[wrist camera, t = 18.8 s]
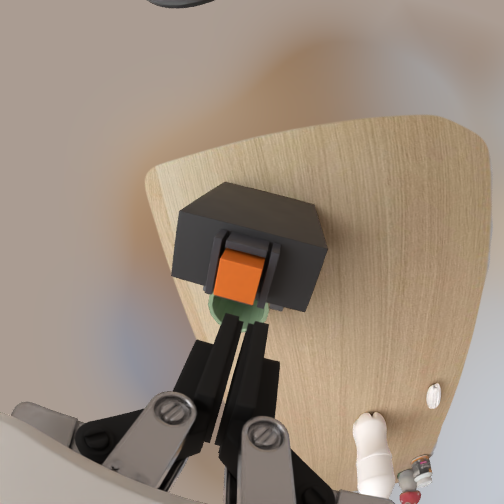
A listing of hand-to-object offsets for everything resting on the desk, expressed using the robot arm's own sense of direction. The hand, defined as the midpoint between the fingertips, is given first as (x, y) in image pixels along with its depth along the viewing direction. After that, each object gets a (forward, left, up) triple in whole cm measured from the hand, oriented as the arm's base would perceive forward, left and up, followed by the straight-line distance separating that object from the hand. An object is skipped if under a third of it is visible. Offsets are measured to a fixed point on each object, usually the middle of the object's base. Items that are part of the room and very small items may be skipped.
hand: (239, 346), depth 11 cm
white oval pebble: (+28, +42, -29) cm, 58 cm away
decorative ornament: (+69, +63, -29) cm, 97 cm away
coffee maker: (+7, -1, -28) cm, 30 cm away
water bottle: (+39, +31, -29) cm, 57 cm away
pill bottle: (+58, +61, -29) cm, 89 cm away
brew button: (+2, -1, -11) cm, 12 cm away
